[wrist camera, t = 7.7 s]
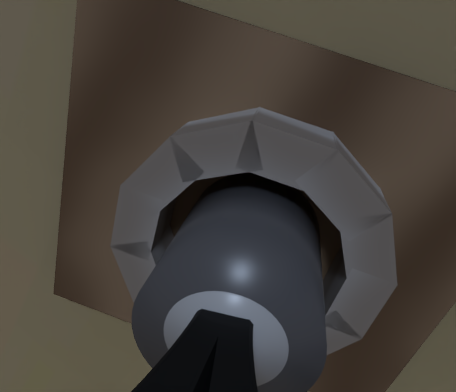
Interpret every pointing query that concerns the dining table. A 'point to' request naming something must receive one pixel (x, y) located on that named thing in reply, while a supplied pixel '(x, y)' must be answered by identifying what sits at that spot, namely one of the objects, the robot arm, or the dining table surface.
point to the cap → (244, 279)
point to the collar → (259, 169)
